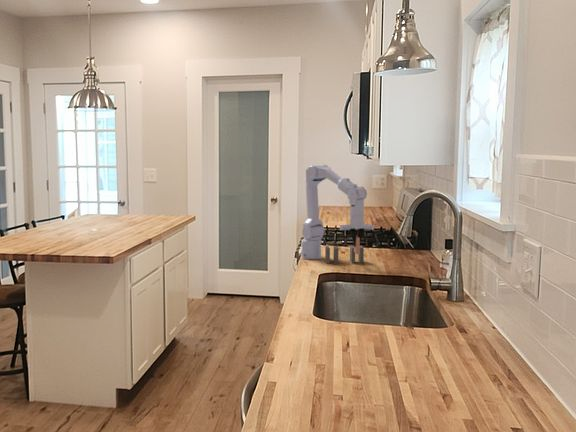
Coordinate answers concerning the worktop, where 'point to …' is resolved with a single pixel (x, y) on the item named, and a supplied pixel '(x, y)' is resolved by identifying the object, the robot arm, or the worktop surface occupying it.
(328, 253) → the charcoal tile
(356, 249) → the brick tile
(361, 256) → the charcoal tile
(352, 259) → the charcoal tile
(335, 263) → the charcoal tile
